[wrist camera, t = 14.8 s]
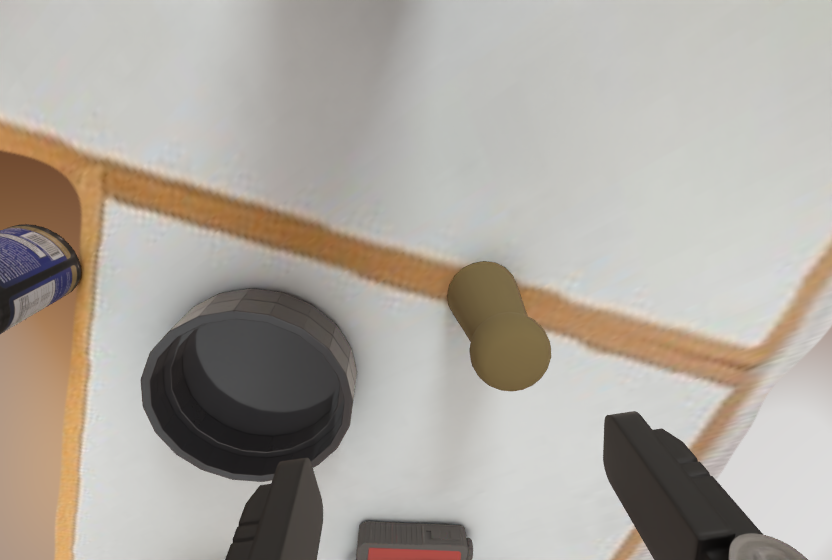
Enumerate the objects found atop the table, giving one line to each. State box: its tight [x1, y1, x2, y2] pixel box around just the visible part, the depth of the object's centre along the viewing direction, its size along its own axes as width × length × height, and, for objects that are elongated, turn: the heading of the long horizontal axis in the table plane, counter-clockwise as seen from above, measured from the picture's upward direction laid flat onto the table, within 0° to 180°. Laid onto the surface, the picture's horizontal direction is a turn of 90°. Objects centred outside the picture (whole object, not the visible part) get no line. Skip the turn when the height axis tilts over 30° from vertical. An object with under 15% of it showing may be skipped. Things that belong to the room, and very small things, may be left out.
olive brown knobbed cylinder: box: [447, 261, 551, 391], centre depth 32 cm, size 6×6×11 cm
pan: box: [141, 288, 357, 482], centre depth 36 cm, size 16×16×5 cm
